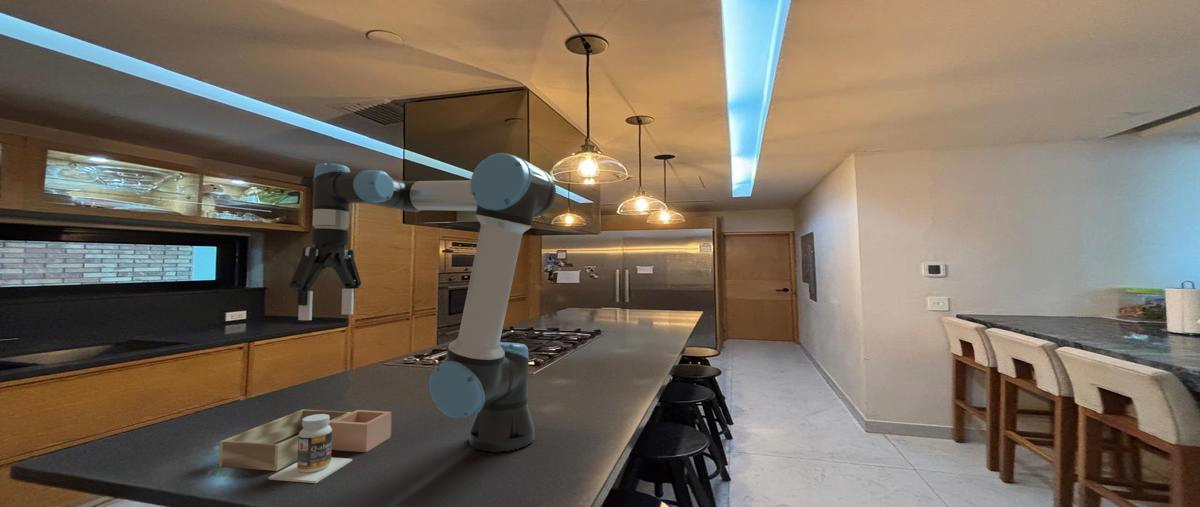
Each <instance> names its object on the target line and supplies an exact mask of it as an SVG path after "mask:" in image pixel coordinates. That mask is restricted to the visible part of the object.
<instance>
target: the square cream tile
mask: <svg viewBox="0 0 1200 507" xmlns="http://www.w3.org/2000/svg"><path fill="white" fill-rule="evenodd" d="M352 462H353V458H345V457H333V456H331V463H330V465H329V466H328V467H326V468H325V469H322V470H320V471H316V472H310V473H304V472H300V471H298V469H297V462H294V463H292V464H290V465H288V466H286V467H284V469H283V468H282V469H280V471H279V470H278V471H277V472H276V473H274V474H272V475H270V476H268V478H267V479H268V480H272V481H282V482H284V481H285V482H297V483H298V482H299V483H308V484H309V483H310V484H317V483H319V482H320V481H322V480H323V479H325V478H327V477H329V476H330V475H331V474H333V473H336V471H338V470H340V469H341V468H343V467H344V466H347V465H348V464H349V463H352Z"/></svg>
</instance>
